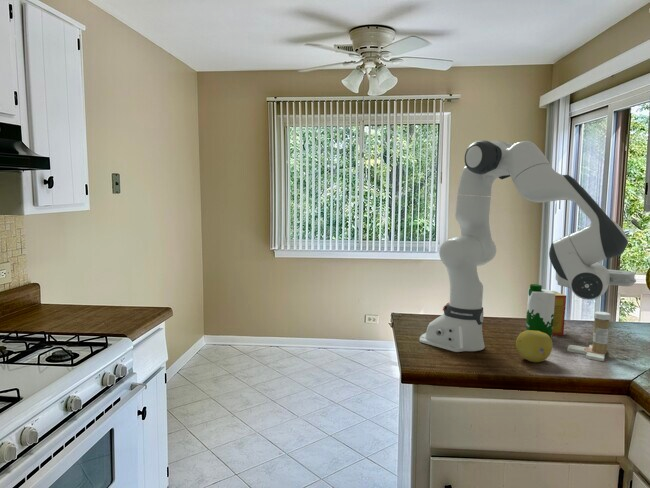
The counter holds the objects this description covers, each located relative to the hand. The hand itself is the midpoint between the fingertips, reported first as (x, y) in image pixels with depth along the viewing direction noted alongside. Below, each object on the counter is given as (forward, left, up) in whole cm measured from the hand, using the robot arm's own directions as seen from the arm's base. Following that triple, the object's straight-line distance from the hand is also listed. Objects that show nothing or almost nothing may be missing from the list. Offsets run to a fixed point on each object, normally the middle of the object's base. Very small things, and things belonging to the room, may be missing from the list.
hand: (595, 272), depth 139 cm
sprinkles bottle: (+2, +15, -29) cm, 33 cm away
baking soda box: (-16, +35, -30) cm, 49 cm away
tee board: (-1, +15, -30) cm, 34 cm away
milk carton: (-18, +24, -30) cm, 43 cm away
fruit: (-15, -5, -30) cm, 34 cm away
